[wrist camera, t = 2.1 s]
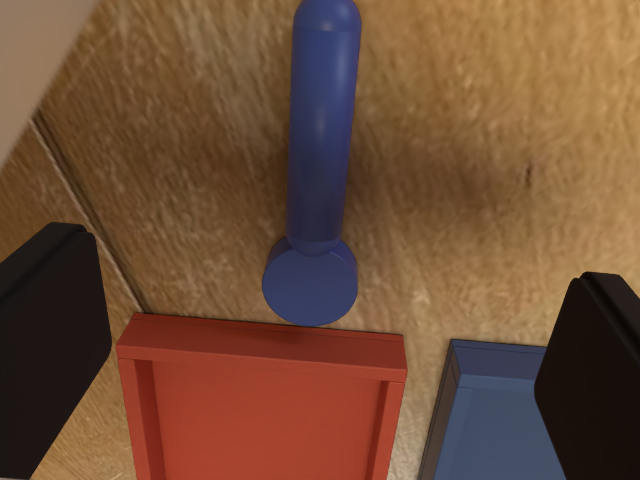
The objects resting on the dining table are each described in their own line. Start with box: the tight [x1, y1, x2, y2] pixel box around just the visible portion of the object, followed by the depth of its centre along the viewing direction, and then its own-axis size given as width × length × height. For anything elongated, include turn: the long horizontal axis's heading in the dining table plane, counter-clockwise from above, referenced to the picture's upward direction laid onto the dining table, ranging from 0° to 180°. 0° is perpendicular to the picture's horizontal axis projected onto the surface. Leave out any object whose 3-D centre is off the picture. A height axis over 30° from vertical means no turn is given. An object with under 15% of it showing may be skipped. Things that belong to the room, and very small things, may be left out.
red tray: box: [116, 313, 408, 480], centre depth 22 cm, size 15×10×2 cm
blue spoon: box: [262, 0, 361, 326], centre depth 16 cm, size 11×3×2 cm, turn 176°
